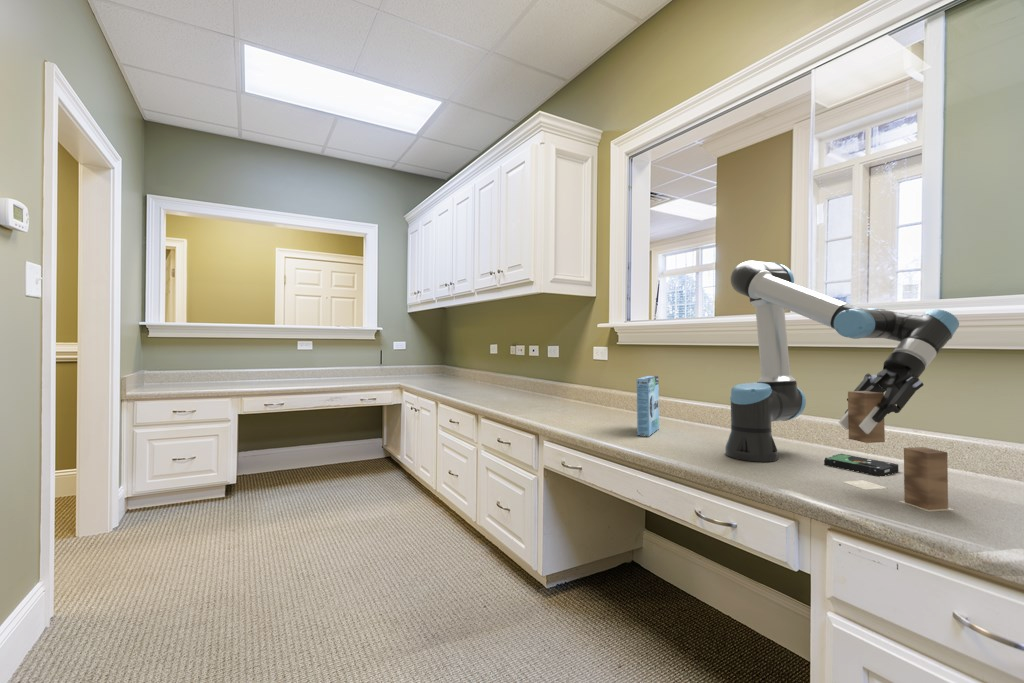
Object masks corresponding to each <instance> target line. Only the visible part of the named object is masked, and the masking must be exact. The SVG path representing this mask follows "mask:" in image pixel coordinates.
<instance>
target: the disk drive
mask: <svg viewBox="0 0 1024 683" xmlns="http://www.w3.org/2000/svg"><path fill="white" fill-rule="evenodd" d="M823 465H824V466H827V465H828V467H832V466H833V468H837V467H839V468H838V469H842V468H844V469H843V470H846V469H849V470H848V471H851V470H854V471H853V472H856V471H859V472H858V473H861V472H864V473H863V474H866V473H868V474H867V475H870V474H872V475H871V476H875V475H877V476H876V477H880V476H881V477H886V476H885V475H887V476H889V475H888V474H890V475H893V474H896V473H898V472H897V471H899V464H898V463H893V462H888V461H887V462H886V461H882V460H878V459H872V458H866V457H862V456H861V457H859V456H857V455H850V454H844V453H838V454H834V455H832V456H829V457H824V459H823ZM895 472H896V473H895ZM892 473H893V474H892Z"/></svg>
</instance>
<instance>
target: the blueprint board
mask: <svg viewBox="0 0 1024 683" xmlns="http://www.w3.org/2000/svg"><path fill="white" fill-rule="evenodd" d="M843 483H845V484H847V485H850V486H853V487H856V488H859V489H862V490H865V491H866V490H867V491H868V490H884V489H887V487H886V486H882V485H879V484H876V483H874V482H870V481H866V480H863V479H861V480H849V481H848V480H847V481H843ZM898 502H900V503H901V504H902V503H903V504H905V505H909V506H911V507H914V508H917V509H920V510H922V511H926V512H942V511H945V512H946V511H955V509H953V508H951V507H948V509H935V510H927V509H924V508H921V507H918V506H915V505H912V504H909V503H906V502H904V500H898Z"/></svg>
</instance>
